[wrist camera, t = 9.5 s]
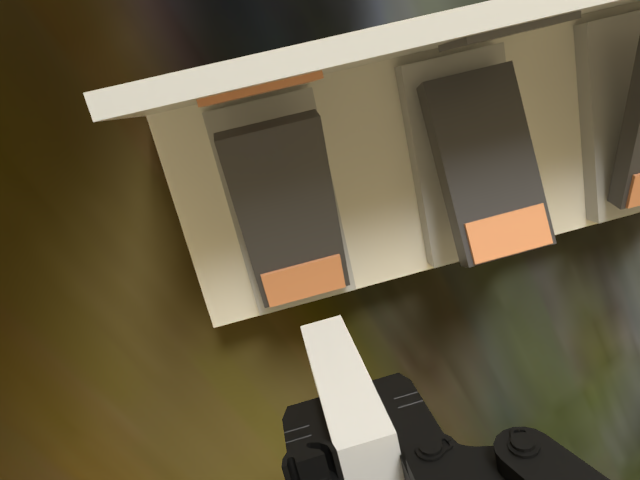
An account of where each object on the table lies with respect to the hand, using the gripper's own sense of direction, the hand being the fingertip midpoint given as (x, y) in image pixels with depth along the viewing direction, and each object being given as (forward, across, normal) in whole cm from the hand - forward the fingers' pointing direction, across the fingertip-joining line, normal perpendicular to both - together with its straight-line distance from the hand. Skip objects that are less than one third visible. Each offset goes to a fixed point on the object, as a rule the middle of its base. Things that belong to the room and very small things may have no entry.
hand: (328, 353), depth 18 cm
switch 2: (+9, +11, +3) cm, 15 cm away
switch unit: (+16, +11, +3) cm, 20 cm away
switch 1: (+9, 0, +3) cm, 10 cm away
